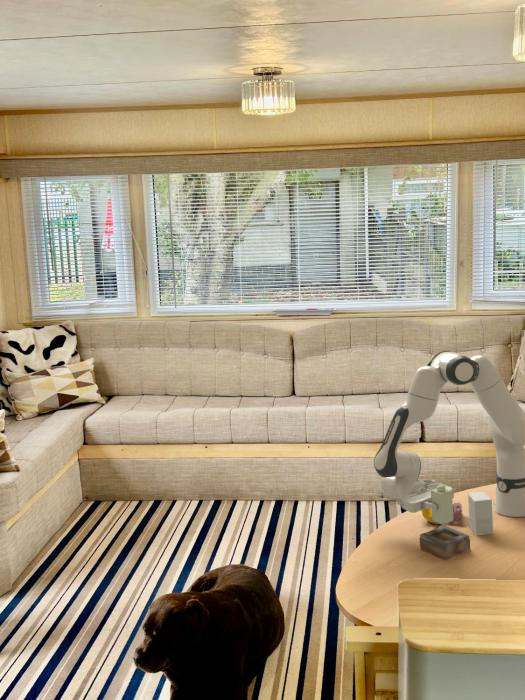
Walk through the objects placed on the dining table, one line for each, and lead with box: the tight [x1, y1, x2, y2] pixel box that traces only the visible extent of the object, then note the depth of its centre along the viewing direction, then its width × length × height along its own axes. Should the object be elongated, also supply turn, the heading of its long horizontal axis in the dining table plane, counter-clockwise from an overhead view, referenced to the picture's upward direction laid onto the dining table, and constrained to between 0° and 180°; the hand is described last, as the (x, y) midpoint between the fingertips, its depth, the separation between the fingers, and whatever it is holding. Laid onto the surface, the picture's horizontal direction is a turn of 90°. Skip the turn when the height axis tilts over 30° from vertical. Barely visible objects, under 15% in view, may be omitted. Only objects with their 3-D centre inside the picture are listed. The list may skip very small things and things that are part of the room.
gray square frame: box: [418, 524, 471, 561], centre depth 264 cm, size 12×12×5 cm
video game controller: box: [448, 501, 464, 524], centre depth 288 cm, size 10×5×7 cm, turn 169°
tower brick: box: [431, 484, 454, 526], centre depth 262 cm, size 5×5×12 cm
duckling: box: [421, 509, 440, 525], centre depth 286 cm, size 11×5×10 cm, turn 44°
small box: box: [467, 491, 494, 536], centre depth 275 cm, size 8×6×13 cm
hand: (443, 504), depth 261 cm, fingers closed on tower brick, 5 cm apart
